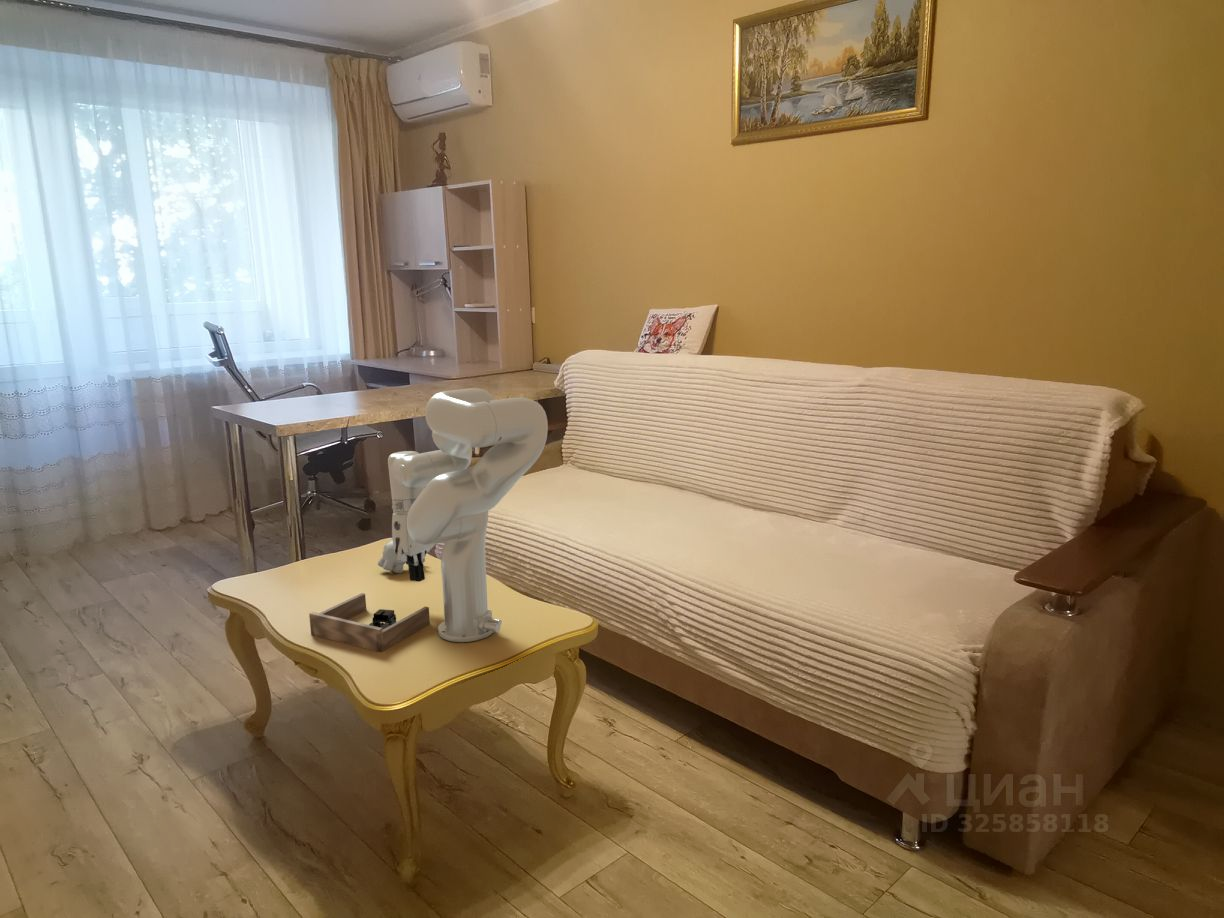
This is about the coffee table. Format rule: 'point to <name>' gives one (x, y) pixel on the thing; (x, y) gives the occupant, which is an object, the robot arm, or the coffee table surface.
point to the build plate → (383, 618)
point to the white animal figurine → (390, 559)
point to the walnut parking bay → (363, 625)
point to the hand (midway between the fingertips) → (417, 580)
